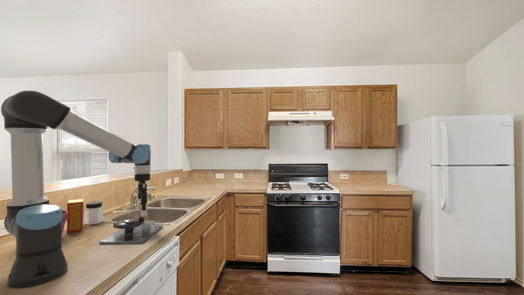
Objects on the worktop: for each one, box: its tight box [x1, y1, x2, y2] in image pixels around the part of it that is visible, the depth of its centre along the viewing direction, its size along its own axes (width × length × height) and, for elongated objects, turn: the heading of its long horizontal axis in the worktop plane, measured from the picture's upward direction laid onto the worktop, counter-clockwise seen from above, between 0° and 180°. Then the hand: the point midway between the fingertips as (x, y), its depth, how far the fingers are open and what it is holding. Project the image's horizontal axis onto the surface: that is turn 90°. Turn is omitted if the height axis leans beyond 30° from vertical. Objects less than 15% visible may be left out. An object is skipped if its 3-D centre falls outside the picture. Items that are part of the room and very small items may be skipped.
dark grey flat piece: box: [98, 220, 163, 245], centre depth 123 cm, size 24×20×6 cm
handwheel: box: [112, 202, 146, 233], centre depth 125 cm, size 14×17×15 cm
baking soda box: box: [66, 198, 85, 233], centre depth 132 cm, size 10×6×16 cm
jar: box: [84, 200, 104, 226], centre depth 144 cm, size 9×8×12 cm
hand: (142, 213), depth 126 cm, fingers open, 13 cm apart
